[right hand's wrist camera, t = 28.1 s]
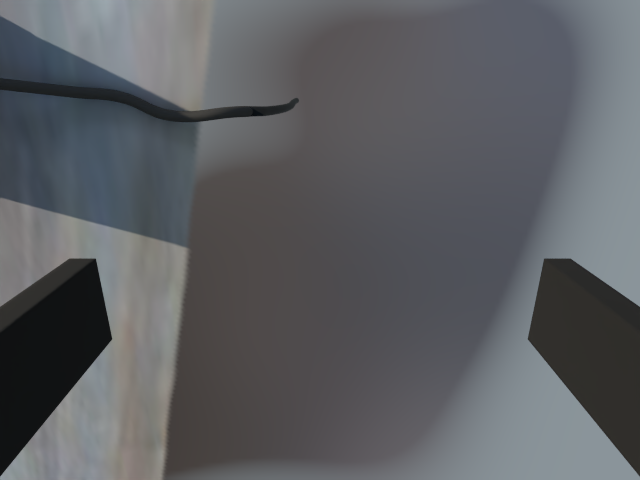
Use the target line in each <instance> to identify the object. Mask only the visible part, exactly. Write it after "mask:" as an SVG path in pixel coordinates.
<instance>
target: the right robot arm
mask: <svg viewBox="0 0 640 480" xmlns="http://www.w3.org/2000/svg"><path fill="white" fill-rule="evenodd" d="M0 90H9V91H18V92H27V93H36V94H45V95H55V96H64V97H73V98H85V99H102V100H110V101H116V102H120V103H124V104H127V105H130V106H132V107H135V108H137V109H139V110H141V111H143V112H145V113H147V114H149V115H151V116H154V117H157V118H160V119H163V120H168V121H175V122H200V121H208V120H215V119H223V118H233V117H252V116H269V115H275V114H280V113H284V112H287V111H289V110H291V109H293V108H294V106H295V105H296V104H297V103H298V102H299V99H298V98H294V99H293V100H291V101H290V102H289V103H287V104H283V105H276V106H236V107H223V108H215V109H208V110H200V111H172V110H166V109H162V108H159V107H157V106H154V105H152V104H150V103H148V102H146V101H144V100H142V99H140V98H138V97H135V96H133V95H130V94H127V93H124V92H120V91H115V90H110V89H101V88H84V87H72V86H63V85H54V84H46V83H37V82H28V81H19V80H11V79H2V78H0ZM111 340H112V336H111V331H110V326H109V321H108V316H107V312H106V307H105V302H104V297H103V292H102V287H101V282H100V277H99V272H98V267H97V262H96V259H68V260H67V261H66V262H64V263H63V264H61V265H60V266H58V267H57V268H55V269H54V270H53V271H51V272H50V273H48V274H47V275H45V276H44V277H43V278H41V279H40V280H38V281H37V282H35V283H34V284H32V285H31V286H30V287H28V288H27V289H25V290H24V291H22V292H21V293H20V294H18V295H17V296H15V297H14V298H12V299H11V300H9V301H8V302H7V303H5V304H4V305H2V306H1V307H0V476H1V475H2V474H3V472H4V471H5V470H6V469H7V467H8V466H9V465H10V464H11V462H12V461H13V460H14V459H15V458H16V456H17V455H18V454H19V453H20V451H21V450H22V449H23V448H24V447H25V445H26V444H27V443H28V442H29V440H30V439H31V438H32V437H33V436H34V434H35V433H36V432H37V431H38V429H39V428H40V427H41V426H42V424H43V423H44V422H45V421H46V420H47V418H48V417H49V416H50V415H51V413H52V412H53V411H54V410H55V409H56V407H57V406H58V405H59V404H60V402H61V401H62V400H63V399H64V398H65V396H66V395H67V394H68V393H69V391H70V390H71V389H72V388H73V387H74V385H75V384H76V383H77V382H78V380H79V379H80V378H81V377H82V375H83V374H84V373H85V372H86V371H87V369H88V368H89V367H90V366H91V364H92V363H93V362H94V361H95V360H96V358H97V357H98V356H99V355H100V353H101V352H102V351H103V350H104V349H105V347H106V346H107V345H108V344H109V342H110V341H111ZM528 340H529V341H530V342H531V344H532V345H533V346H534V347H535V348H536V350H537V351H538V352H539V353H540V355H541V356H542V357H543V358H544V360H545V361H546V362H547V363H548V364H549V366H550V367H551V368H552V369H553V371H554V372H555V373H556V374H557V375H558V377H559V378H560V379H561V380H562V382H563V383H564V384H565V385H566V387H567V388H568V389H569V390H570V391H571V393H572V394H573V395H574V396H575V397H576V399H577V400H578V401H579V402H580V404H581V405H582V406H583V407H584V409H585V410H586V411H587V412H588V413H589V415H590V416H591V417H592V418H593V420H594V421H595V422H596V423H597V424H598V426H599V427H600V428H601V429H602V431H603V432H604V433H605V434H606V436H607V437H608V438H609V439H610V440H611V442H612V443H613V444H614V445H615V447H616V448H617V449H618V450H619V451H620V453H621V454H622V455H623V456H624V458H625V459H626V460H627V461H628V462H629V464H630V465H631V466H632V467H633V469H634V470H635V471H636V472H637V473H638V475H639V476H640V307H639V306H638V305H636V304H635V303H633V302H632V301H630V300H629V299H628V298H626V297H625V296H623V295H622V294H620V293H619V292H618V291H616V290H615V289H613V288H612V287H610V286H609V285H607V284H606V283H605V282H603V281H602V280H600V279H599V278H597V277H596V276H595V275H593V274H592V273H590V272H589V271H587V270H586V269H584V268H583V267H582V266H580V265H579V264H577V263H576V262H574V261H573V260H572V259H544V263H543V267H542V272H541V277H540V282H539V287H538V292H537V297H536V302H535V307H534V312H533V316H532V321H531V327H530V331H529V336H528Z"/></svg>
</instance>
